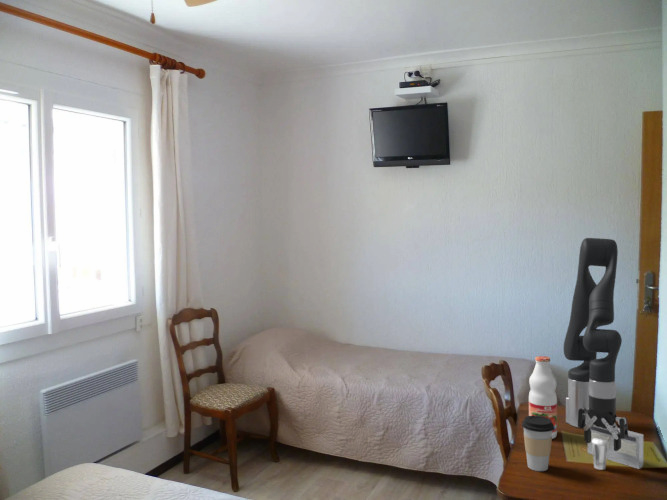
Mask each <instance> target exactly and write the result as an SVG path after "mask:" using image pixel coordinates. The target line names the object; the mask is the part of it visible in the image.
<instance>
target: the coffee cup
mask: <svg viewBox="0 0 667 500" xmlns="http://www.w3.org/2000/svg"><path fill="white" fill-rule="evenodd" d="M521 427H522V428H523V438H524V439H523V441H524V448H525V453H526V455H525V456H526V462H527V464H526V465H527V467H528V468H529V469H530V470H532V471H535V472H545V471H547V470H549V462H550V455H551V451H552V449H551V448H552V440H553V439H552V430H553V429H554V425H553V423H552V422H551V420H550V419H549V418H546V417H543V416H529V415H528V416H525V417H524V419H523V420H522V423H521Z"/></svg>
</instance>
